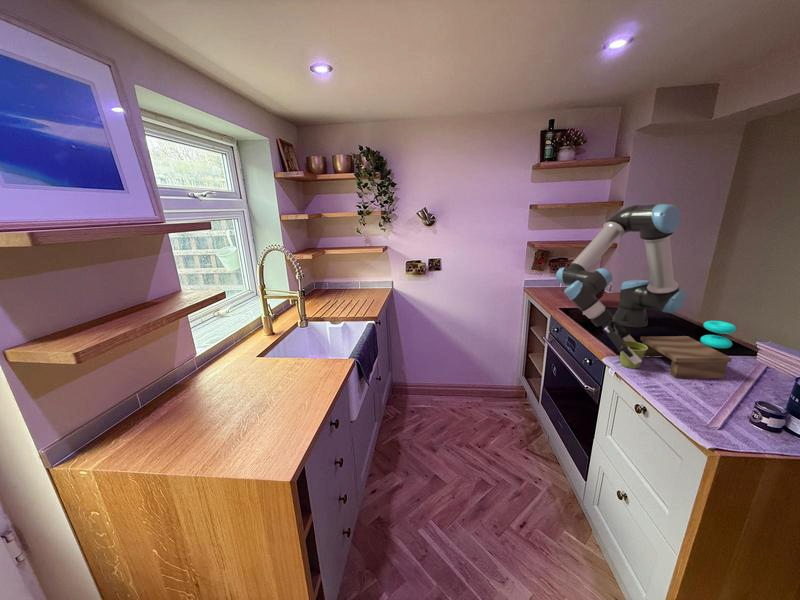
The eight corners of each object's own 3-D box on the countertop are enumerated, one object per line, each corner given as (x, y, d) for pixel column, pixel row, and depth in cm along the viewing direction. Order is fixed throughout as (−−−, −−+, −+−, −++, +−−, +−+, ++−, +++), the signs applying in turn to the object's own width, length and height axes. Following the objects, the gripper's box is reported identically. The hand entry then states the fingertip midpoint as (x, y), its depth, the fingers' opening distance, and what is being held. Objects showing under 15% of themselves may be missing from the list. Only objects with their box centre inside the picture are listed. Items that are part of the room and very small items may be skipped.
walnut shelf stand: (637, 353, 133) (640, 336, 131) (683, 353, 131) (687, 336, 129) (672, 378, 114) (676, 358, 112) (726, 378, 112) (731, 358, 110)
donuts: (698, 319, 141) (725, 319, 138) (694, 339, 144) (720, 340, 141) (714, 327, 132) (743, 328, 129) (709, 348, 134) (737, 350, 132)
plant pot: (610, 360, 129) (612, 340, 127) (633, 359, 129) (636, 340, 127) (625, 371, 120) (628, 350, 118) (650, 370, 120) (654, 349, 118)
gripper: (592, 310, 139) (629, 348, 134) (585, 328, 119) (628, 373, 115) (608, 300, 134) (646, 339, 130) (603, 317, 115) (648, 364, 110)
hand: (638, 355), depth 122 cm, fingers open, 13 cm apart
